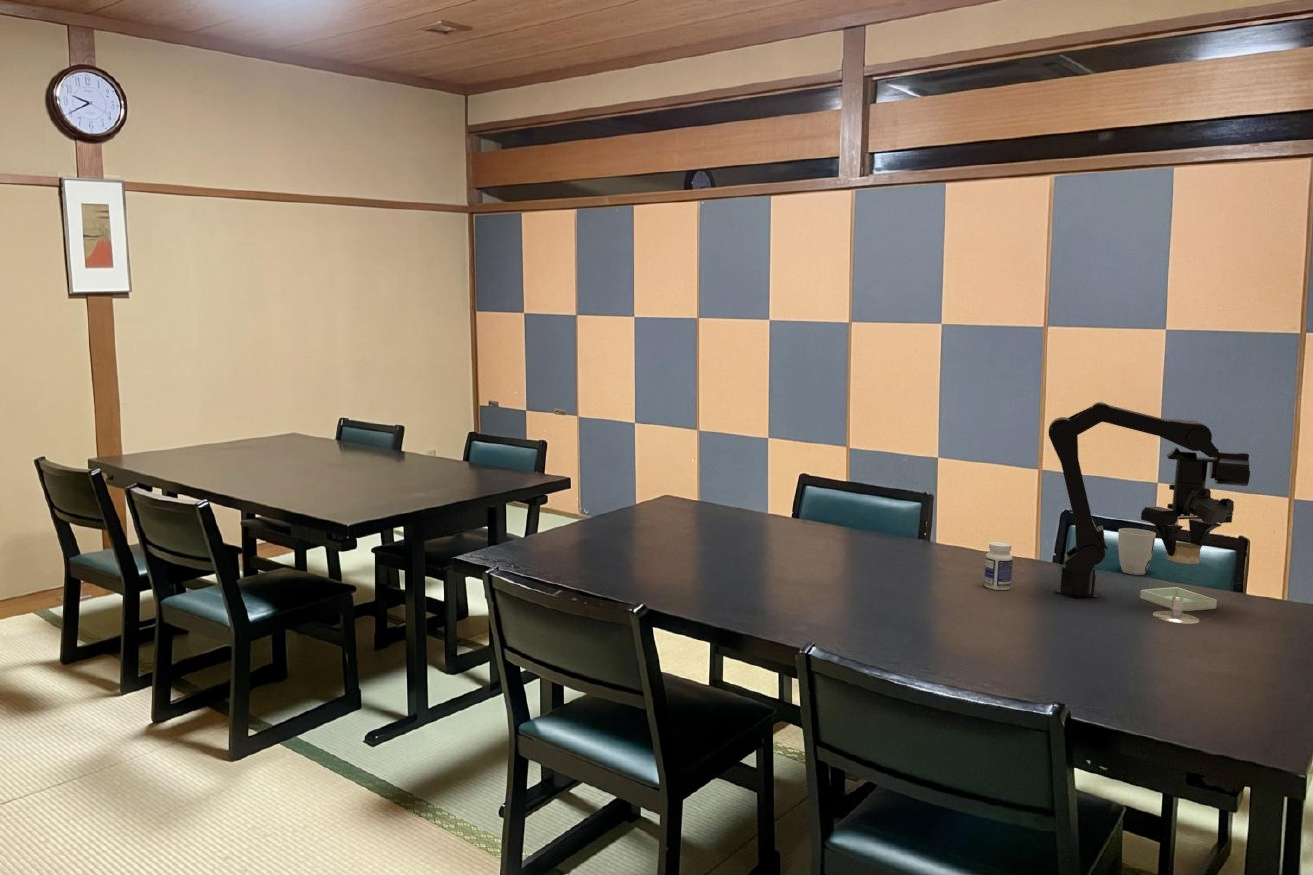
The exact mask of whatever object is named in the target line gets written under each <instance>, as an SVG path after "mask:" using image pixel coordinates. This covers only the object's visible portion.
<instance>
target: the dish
mask: <svg viewBox="0 0 1313 875" xmlns="http://www.w3.org/2000/svg"><path fill="white" fill-rule="evenodd" d="M1172 596H1181V597H1183V608H1182V612H1192V611H1201V610H1202V611H1203V610H1212V609H1217V603H1218V600H1217V599H1216V598H1212V597H1209V596H1206V595H1203V594H1200V593H1196V592H1194V591H1191V590H1187V589H1184V588H1182V587H1178V586H1175V587H1161V588H1160V587H1159V588H1149V589H1148V588H1147V589H1141V590H1140V596H1139V599H1142V600H1145V601H1147V602H1150V603H1153V604H1155V605H1158V606H1162V607H1164V608H1167V609H1169V610H1171V606H1172Z"/></svg>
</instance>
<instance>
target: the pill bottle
mask: <svg viewBox="0 0 1313 875" xmlns="http://www.w3.org/2000/svg"><path fill="white" fill-rule="evenodd" d="M988 549H989V551H988V552H987V553H986V554H985V564H984V565H985V566H984V578H983V579H984V580H983V582H984V583H983V584H984V587H986V588H987V589H990V590H997V591H1007V590H1008V591H1009V590H1010V589H1011V588H1012V574H1013V562H1014V557H1013V555H1012V554H1011V553H1010V552H1011V551H1012V544H1010V543H1008V542H1003V541H991V542H989V544H988Z"/></svg>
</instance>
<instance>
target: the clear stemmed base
mask: <svg viewBox="0 0 1313 875" xmlns="http://www.w3.org/2000/svg"><path fill="white" fill-rule="evenodd" d="M1182 608H1183V597H1181V596H1172V606H1171V609H1170V610H1158V611H1153V613H1152V615H1153V616H1154V617H1155V618H1158V619H1159V620H1162V621H1167V622H1170V623H1178V624H1189V625H1190V624H1191V625H1192V624H1197V623H1199V622H1200V619H1199V618H1198V617H1196V616H1194V615H1191V614H1187V613H1184V612H1183V611H1182Z"/></svg>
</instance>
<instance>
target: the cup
mask: <svg viewBox="0 0 1313 875" xmlns="http://www.w3.org/2000/svg"><path fill="white" fill-rule="evenodd" d="M1117 533H1118V536H1117V537H1118V538H1117V539H1118V540H1117V542H1118V543H1117V546H1118V547H1117V548H1118V558H1119V564H1120V567H1121V571H1122V572H1123V573H1125V574H1130V575H1135V576H1138V575H1139V576H1140V575H1145V574H1146V572H1147V570H1148V567H1149V566H1150V563H1151V560H1152V556H1153V553H1154V548H1155V541H1156V540H1155V539H1156V536H1157V533H1156V532H1155V531H1151V530H1147V529H1140V528H1132V527H1126V528H1125V527H1123V528H1119V529H1118V531H1117Z"/></svg>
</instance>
